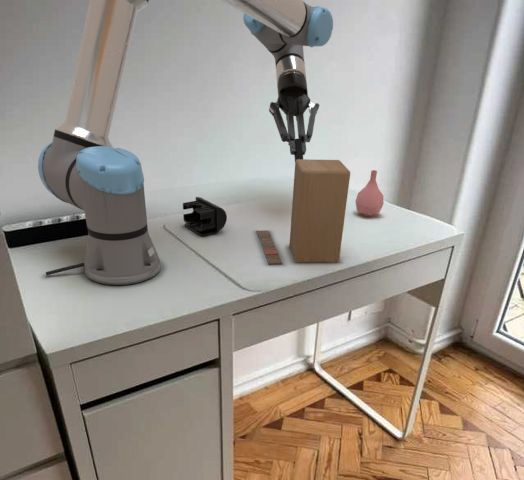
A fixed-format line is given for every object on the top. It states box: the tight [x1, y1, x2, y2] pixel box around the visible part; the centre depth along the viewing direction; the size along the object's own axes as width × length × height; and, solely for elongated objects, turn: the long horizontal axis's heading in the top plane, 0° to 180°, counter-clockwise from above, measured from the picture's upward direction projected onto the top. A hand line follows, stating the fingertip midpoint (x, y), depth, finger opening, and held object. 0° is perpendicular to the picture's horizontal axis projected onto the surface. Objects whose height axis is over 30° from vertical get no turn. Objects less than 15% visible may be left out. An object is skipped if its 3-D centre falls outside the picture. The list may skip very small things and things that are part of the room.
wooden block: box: [289, 158, 351, 263], centre depth 110 cm, size 10×10×20 cm
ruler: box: [256, 230, 283, 266], centre depth 118 cm, size 20×3×1 cm, turn 8°
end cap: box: [182, 196, 228, 238], centre depth 125 cm, size 10×7×7 cm
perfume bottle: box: [355, 169, 384, 217], centre depth 137 cm, size 8×8×12 cm
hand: (299, 165), depth 123 cm, fingers closed
